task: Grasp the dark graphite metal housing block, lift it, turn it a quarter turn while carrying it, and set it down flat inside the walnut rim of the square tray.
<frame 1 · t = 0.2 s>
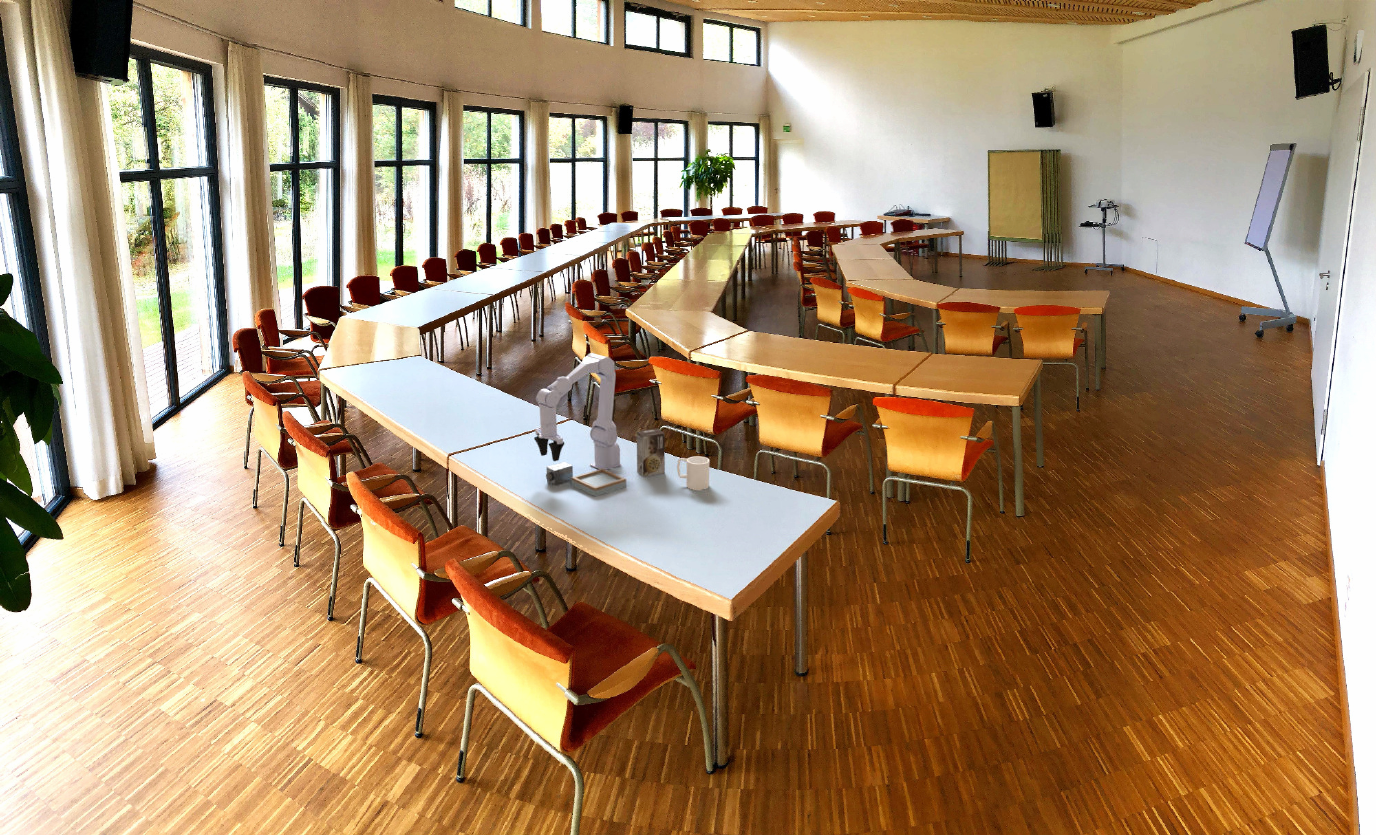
hand: (549, 457, 319), 10 cm above the table, fingers open, 7 cm apart
square tray: (598, 485, 319), on the table
housing: (560, 481, 323), on the table
cup: (692, 485, 321), on the table
coffee box: (650, 473, 333), on the table
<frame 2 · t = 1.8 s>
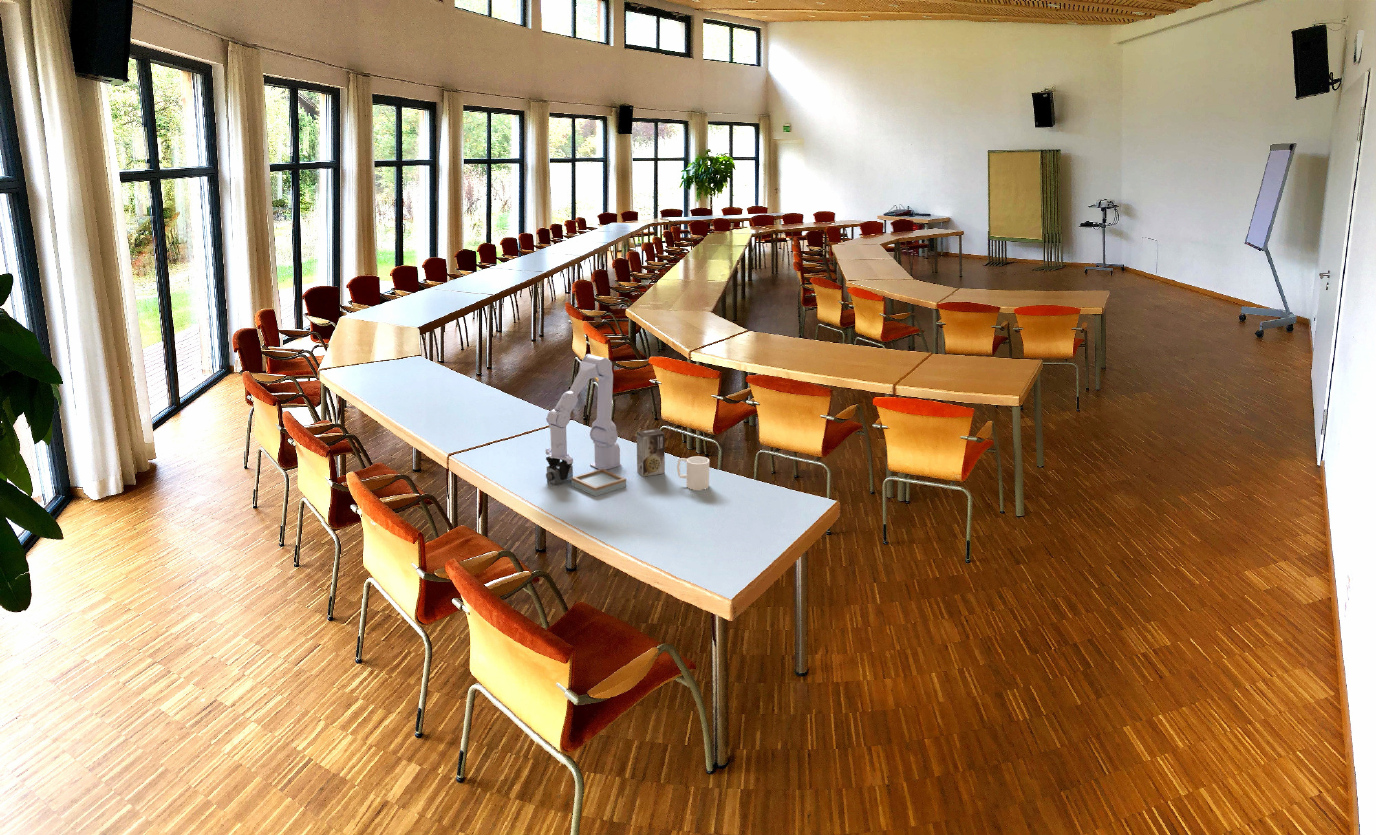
hand: (559, 477, 323), 2 cm above the table, fingers closed on housing, 5 cm apart
housing: (560, 481, 323), on the table, touching gripper
everything else where it was.
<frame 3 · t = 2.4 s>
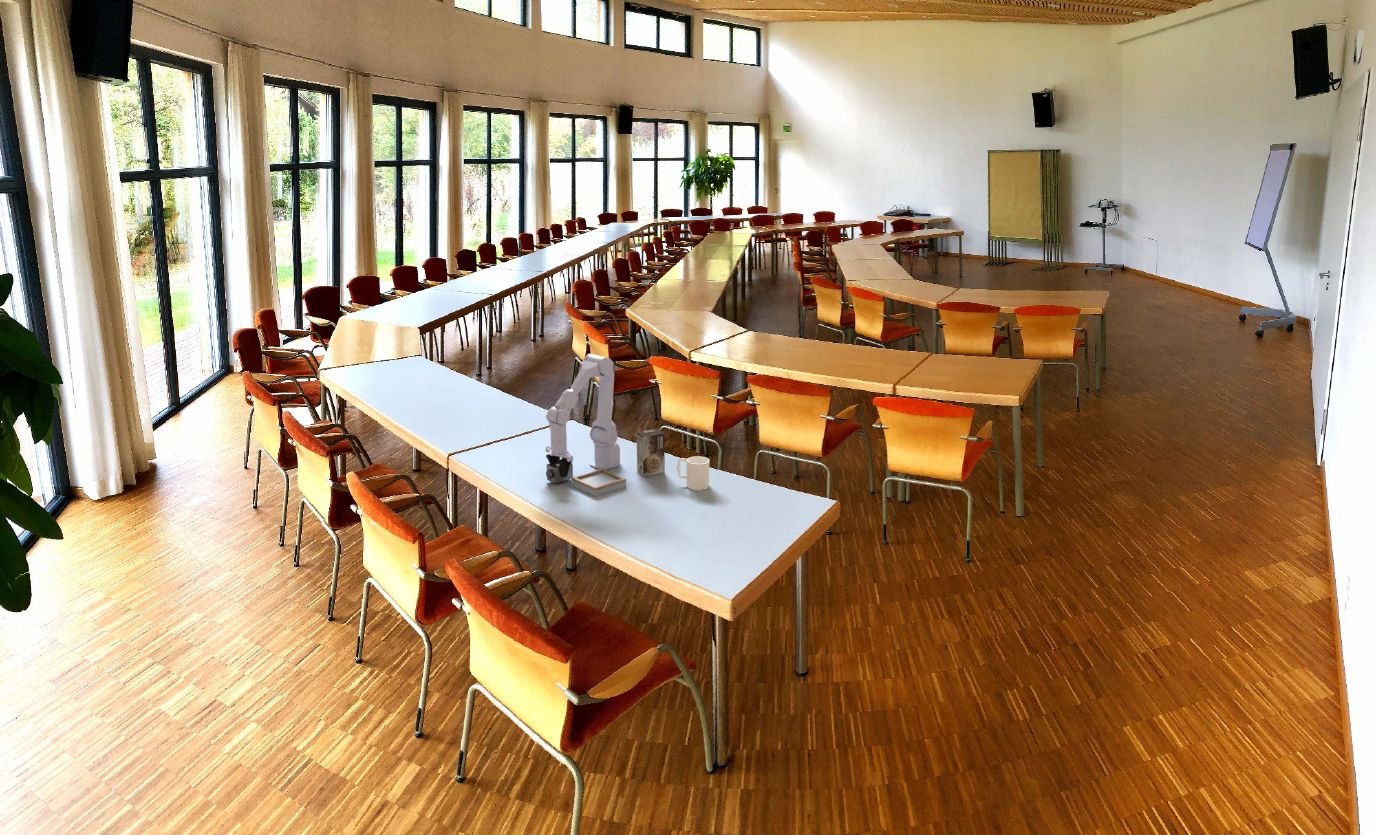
hand: (559, 474, 322), 3 cm above the table, fingers closed on housing, 5 cm apart
housing: (560, 478, 323), point 1 cm above the table, touching gripper
everything else where it was.
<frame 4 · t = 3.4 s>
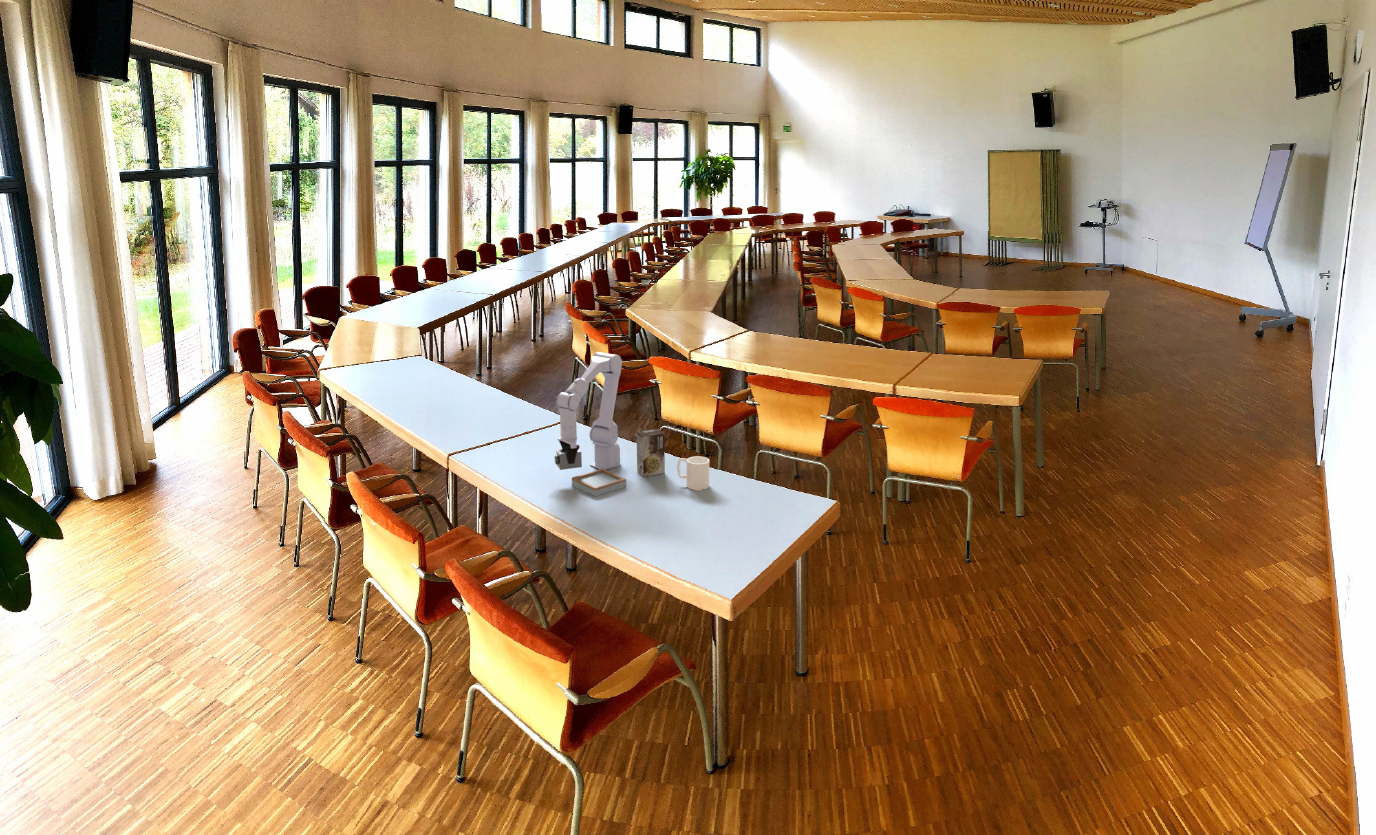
hand: (569, 460, 320), 8 cm above the table, fingers closed on housing, 5 cm apart
housing: (569, 466, 320), point 6 cm above the table, touching gripper
everything else where it was.
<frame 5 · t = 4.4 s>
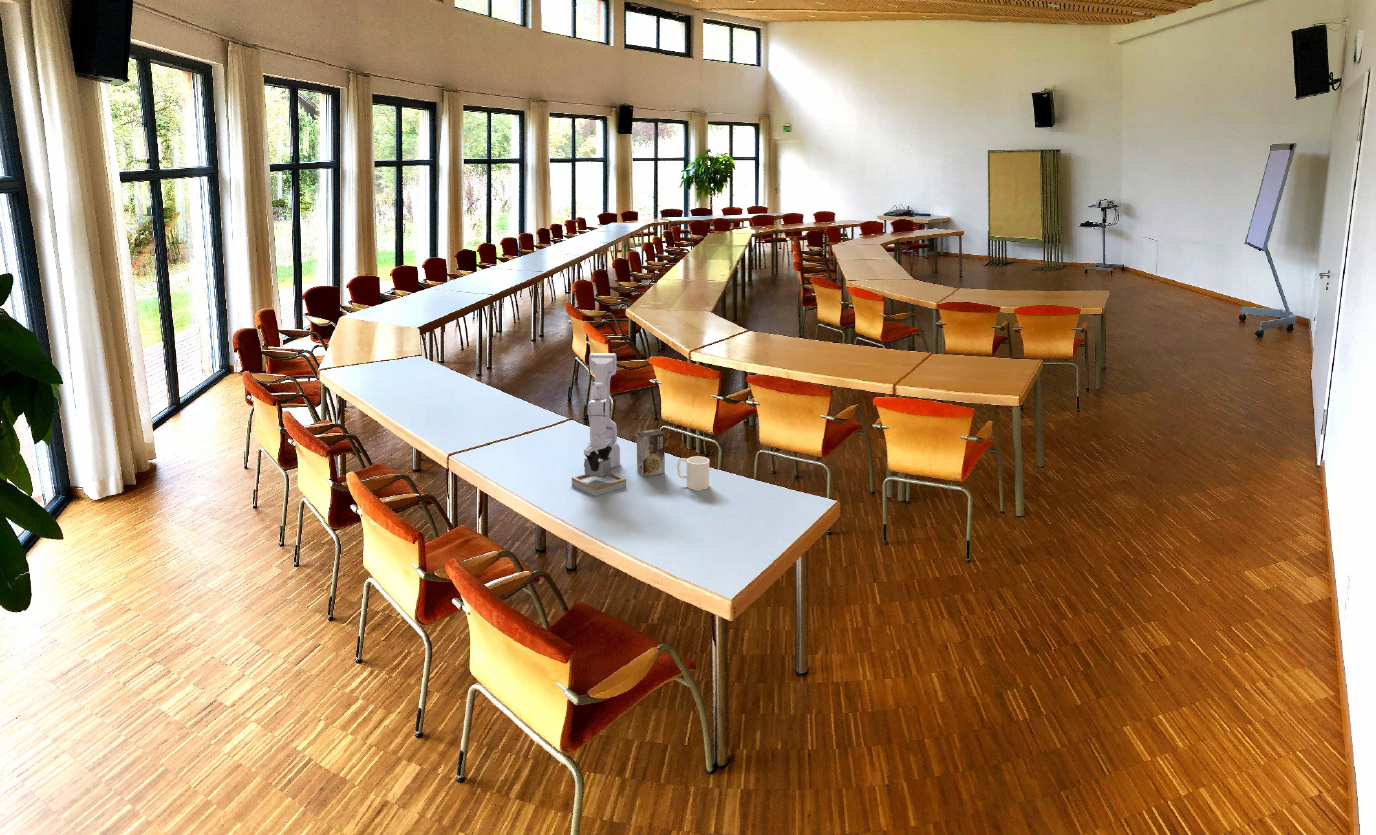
hand: (598, 468, 317), 7 cm above the table, fingers closed on housing, 5 cm apart
housing: (598, 474, 318), point 5 cm above the table, touching gripper
everything else where it was.
when the fingers open (5 cm above the table, at t = 5.1 s): housing stays where it is, resting on square tray.
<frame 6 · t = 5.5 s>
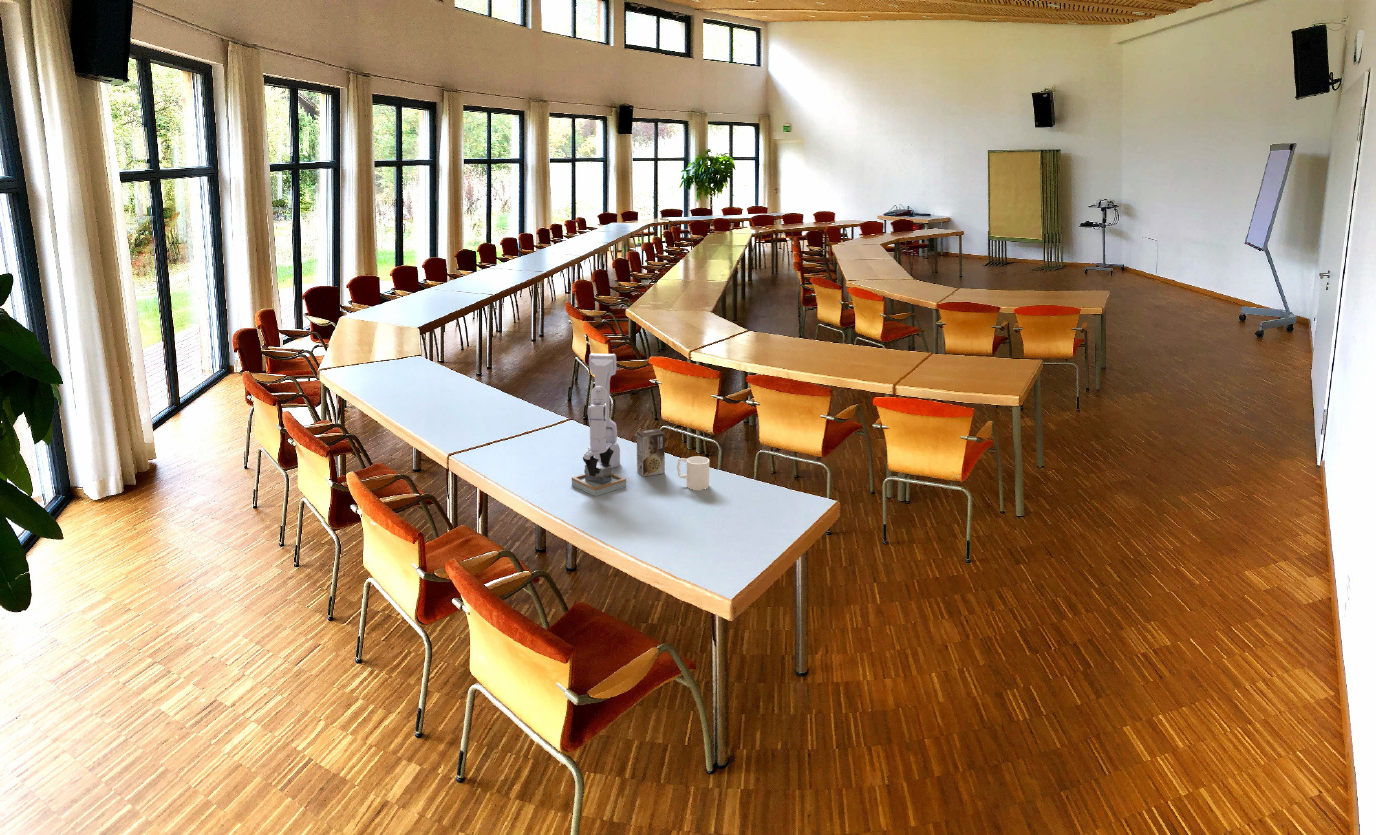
hand: (598, 472, 318), 5 cm above the table, fingers open, 7 cm apart
housing: (598, 480, 319), point 2 cm above the table, touching square tray
everything else where it was.
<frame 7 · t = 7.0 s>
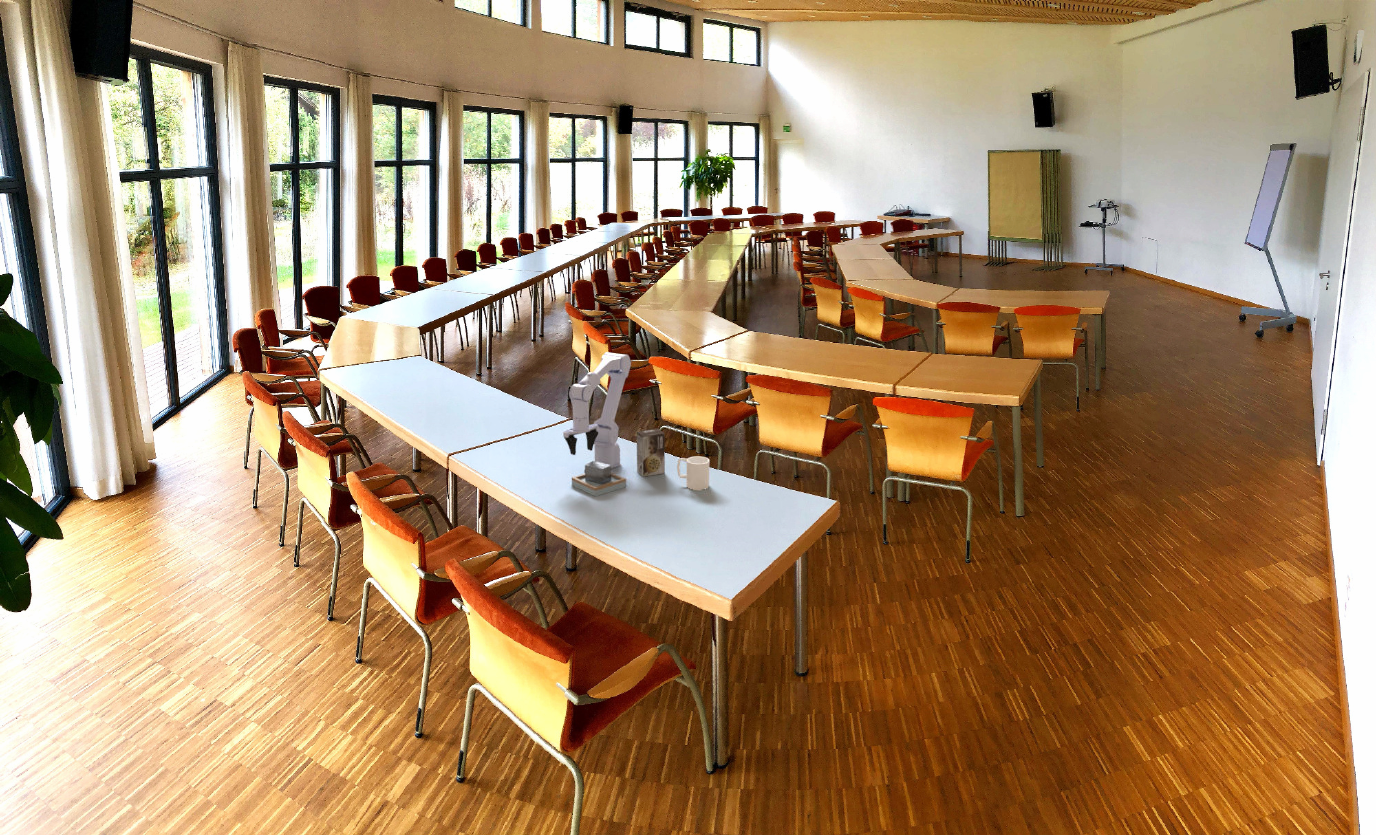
hand: (581, 452, 323), 10 cm above the table, fingers open, 7 cm apart
nothing on the table moved.
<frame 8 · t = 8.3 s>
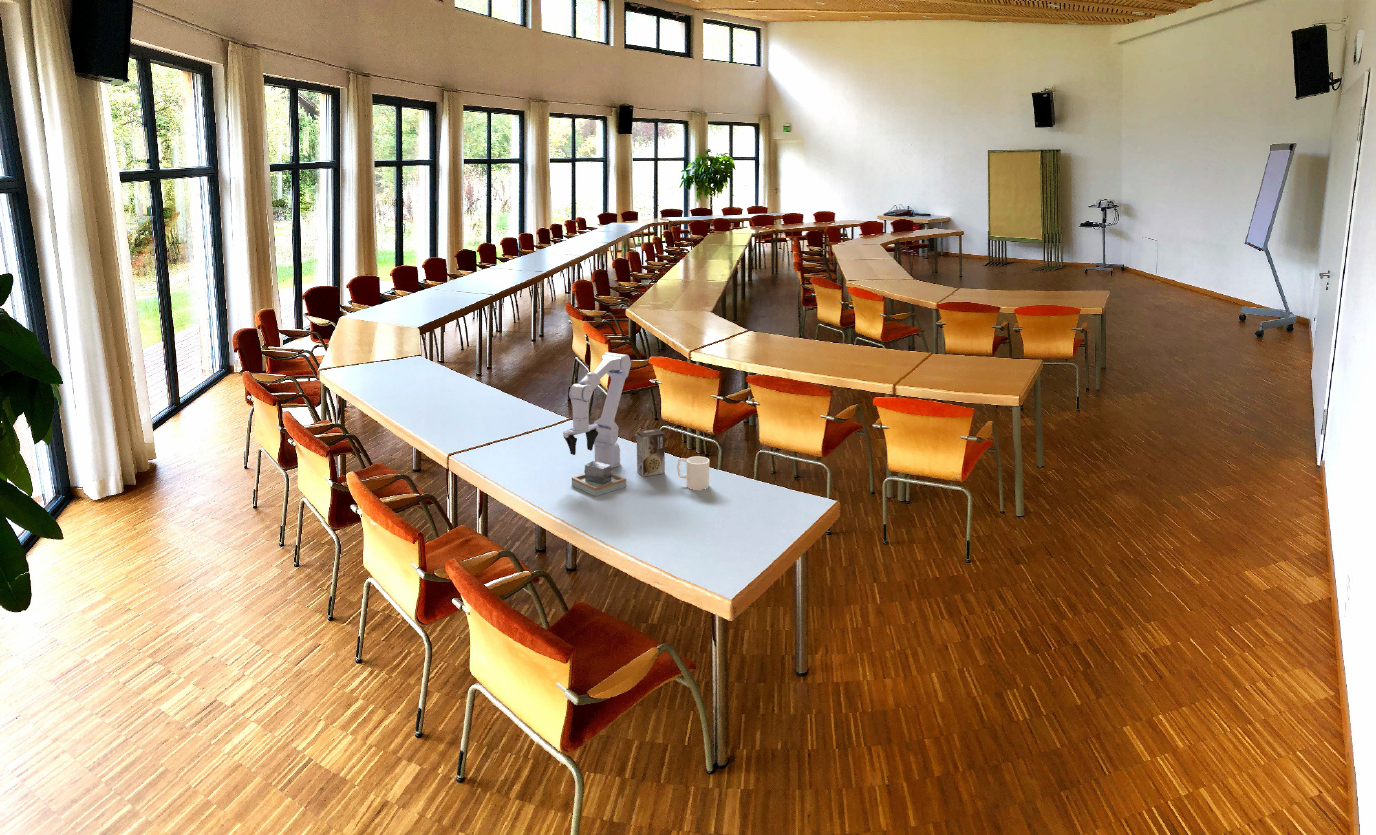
hand: (581, 452, 323), 10 cm above the table, fingers open, 7 cm apart
nothing on the table moved.
at the end: housing 0.3 cm off-centre on the square tray, point 2.0 cm above the square tray's base; housing tilted 0°; the gripper is holding nothing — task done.
